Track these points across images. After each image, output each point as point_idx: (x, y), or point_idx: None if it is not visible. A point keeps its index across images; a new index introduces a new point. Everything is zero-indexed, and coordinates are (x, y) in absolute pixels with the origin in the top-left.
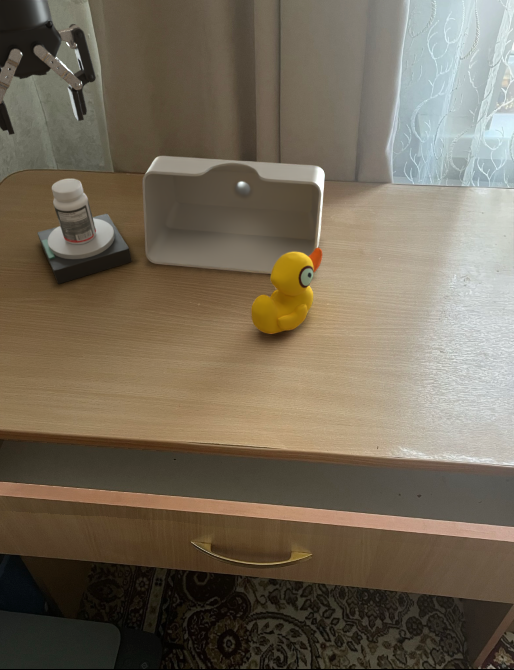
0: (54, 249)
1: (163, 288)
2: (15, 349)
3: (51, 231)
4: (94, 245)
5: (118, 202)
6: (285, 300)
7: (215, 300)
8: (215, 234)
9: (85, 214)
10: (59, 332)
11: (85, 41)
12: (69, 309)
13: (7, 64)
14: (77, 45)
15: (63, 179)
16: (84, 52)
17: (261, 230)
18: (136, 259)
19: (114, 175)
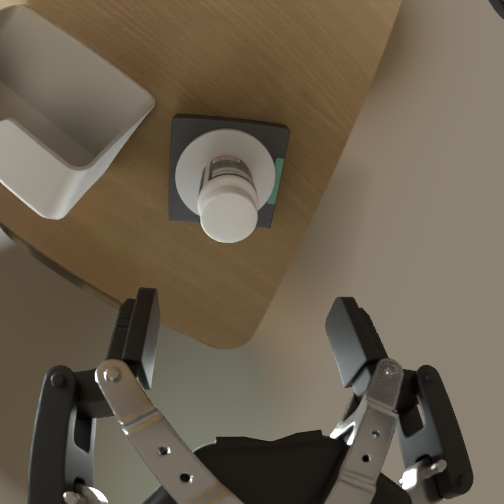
0: (272, 167)
1: (166, 37)
2: (372, 53)
3: None
4: (218, 142)
5: (145, 255)
6: None
7: None
8: (57, 119)
9: (214, 172)
10: (323, 40)
11: (30, 489)
12: (295, 68)
13: (371, 473)
14: (62, 493)
15: (225, 242)
16: (45, 460)
17: (13, 100)
18: (168, 116)
19: None
